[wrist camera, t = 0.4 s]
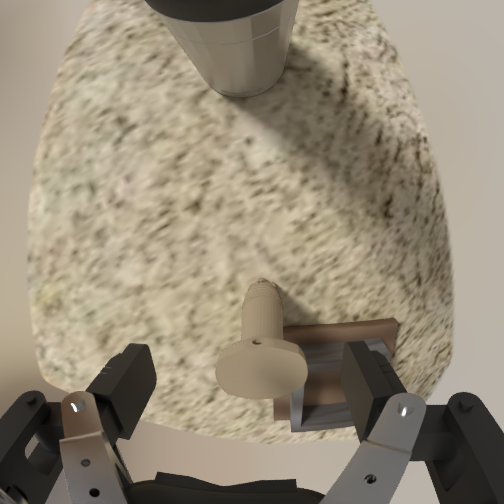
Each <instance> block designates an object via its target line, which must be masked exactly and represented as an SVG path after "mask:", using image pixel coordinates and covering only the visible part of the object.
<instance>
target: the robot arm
mask: <svg viewBox="0 0 504 504" xmlns="http://www.w3.org/2000/svg"><path fill="white" fill-rule="evenodd" d="M145 1H146V2H147V4H148V5H149V6H150V7H151V8H152V9H153V11H154V12H155V13H156V15H157V16H158V17H159V18H160V20H161V21H162V22H163V23H164V25H165V26H166V27H167V29H168V30H169V31H170V33H171V34H172V35H173V37H174V38H175V39H176V41H177V42H178V43H179V45H180V46H181V47H182V49H183V50H184V52H185V53H186V54H187V56H188V57H189V59H190V60H191V61H192V63H193V64H194V66H195V67H196V68H197V70H198V71H199V73H200V74H201V76H202V77H203V78H204V80H205V81H206V82H207V83H208V85H209V86H210V87H211V88H213V89H214V90H216V91H217V92H219V93H221V94H224V95H226V96H231V97H250V96H255V95H258V94H260V93H263V92H265V91H266V90H268V89H270V88H271V87H272V86H273V85H274V84H275V83H276V82H277V81H278V80H279V78H280V77H281V75H282V73H283V70H284V67H285V62H286V57H287V54H288V49H289V44H290V40H291V35H292V30H293V26H294V21H295V16H296V12H297V7H298V2H299V0H145ZM156 380H157V379H156V372H155V368H154V364H153V360H152V356H151V352H150V349H149V346H148V345H147V344H135V343H130V344H129V345H128V346H127V347H126V349H125V350H124V351H123V352H122V353H119V354H118V355H116V356H114V357H113V358H111V359H110V360H109V361H108V363H107V364H106V365H105V368H103V369H102V370H101V371H100V373H99V374H98V375H97V377H96V378H95V379H94V380H93V382H92V383H91V384H90V385H89V387H88V388H87V389H86V391H76V392H73V393H70V394H69V395H67V396H66V397H65V398H64V399H63V400H62V402H47V400H46V398H45V396H44V395H43V393H41V392H39V391H28V392H25V393H24V394H22V395H21V396H20V397H19V398H18V399H17V400H16V401H15V402H14V404H13V405H12V406H11V407H10V408H9V409H8V410H7V412H6V413H5V414H4V415H3V416H2V418H1V419H0V504H45V502H46V500H47V498H48V496H49V494H50V492H51V490H52V488H53V486H54V484H55V482H56V480H57V478H58V477H59V474H60V473H61V471H62V469H64V474H65V479H66V484H67V488H68V492H69V496H70V500H71V504H389V503H390V501H391V499H392V497H393V495H394V493H395V491H396V489H397V487H398V485H399V483H400V480H401V478H402V476H403V474H404V472H405V469H406V467H407V465H408V462H409V461H425V463H426V466H427V469H428V471H429V474H430V477H431V480H432V482H433V485H434V488H435V491H436V494H437V497H438V500H439V503H440V504H504V433H503V431H502V430H501V428H500V427H499V425H498V424H497V423H496V421H495V419H494V418H493V417H492V415H491V414H490V412H489V411H488V409H487V408H486V407H485V405H484V404H483V402H482V401H481V400H480V399H479V398H478V397H477V396H476V395H474V394H471V393H467V392H460V393H456V394H454V395H453V396H451V398H450V399H449V401H448V404H447V405H426V403H425V401H424V400H423V399H422V398H421V397H419V396H418V395H415V394H412V393H407V391H406V389H405V388H404V386H403V384H402V383H401V381H400V379H399V378H398V376H397V374H396V373H395V372H394V370H393V368H392V366H390V363H389V362H388V360H387V358H386V357H385V356H384V355H383V354H381V353H380V352H378V351H377V350H374V351H370V349H369V348H368V346H367V344H366V343H365V341H364V340H357V341H348V342H345V344H344V350H343V359H342V367H341V386H342V389H343V392H344V395H345V398H346V401H347V404H348V407H349V410H350V413H351V416H352V419H353V422H354V425H355V428H356V431H357V435H358V438H359V441H360V446H359V448H358V449H357V451H356V452H355V454H354V456H353V457H352V459H351V460H350V462H349V463H348V465H347V466H346V468H345V469H344V471H343V472H342V473H341V475H340V476H339V478H338V479H337V481H336V482H335V483H334V485H333V486H332V487H331V489H330V490H329V491H328V493H327V494H326V495H324V494H321V493H319V492H316V491H313V490H309V489H304V488H297V485H296V479H287V480H260V481H255V482H249V483H244V484H238V485H232V486H219V485H216V484H212V483H209V482H205V481H202V480H199V479H196V478H193V477H189V476H182V475H176V474H169V473H163V472H157V475H156V478H155V480H147V481H141V482H136V483H133V481H132V479H131V476H130V474H129V472H128V470H127V467H126V465H125V463H124V460H123V458H122V455H121V453H120V450H119V447H118V445H117V443H116V441H117V439H118V438H123V439H127V440H129V439H130V437H131V435H132V433H133V431H134V429H135V427H136V425H137V423H138V421H139V419H140V417H141V415H142V413H143V411H144V409H145V407H146V405H147V403H148V401H149V399H150V397H151V395H152V393H153V391H154V389H155V386H156ZM33 435H35V437H36V438H37V440H38V441H39V443H38V444H37V446H36V447H35V449H34V450H33V452H32V453H31V455H30V456H29V458H28V460H27V458H26V456H25V447H26V446H27V444H28V443H29V441H30V440H31V438H32V437H33Z"/></svg>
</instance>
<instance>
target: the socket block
mask: <svg viewBox="0 0 504 504" xmlns="http://www.w3.org/2000/svg"><path fill="white" fill-rule="evenodd" d="M398 324H399V323H398V322H397V321H396V319H395V318H388V319H380V320H370V321H360V322H349V323H337V324H324V325H308V326H290V327H283V340H285V341H288V342H291V343H294V344H297V345H298V346H299V347H300V348H301V350H302V351H303V353H304V356H305V359H306V363H307V370H308V373H307V379H306V382H305V383H304V385H303V386H302V387H301V388H300V389H298V390H296V391H294V392H292V393H289V394H287V395H284V396H281V397H278V398H274V421H275V420H290V422H291V433H292V432H306V431H317V430H327V429H335V428H343V427H350V426H355V425H354V422H353V419H352V416H351V413H350V410H349V407H348V404H347V401H346V398H345V395H344V392H343V389H342V386H341V367H342V359H343V350H344V344H345V342H348V341H357V340H364V341H365V343H366V344H367V346H368V348H369V349H370V351H374V350H377V351H378V352H380V353H381V354H383V355H384V356H385V357H386V358H387V360H388V362H389V363H390V360H391V356H392V352H393V348H394V343H395V338H396V334H397V329H398Z"/></svg>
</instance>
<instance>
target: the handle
mask: <svg viewBox="0 0 504 504" xmlns="http://www.w3.org/2000/svg"><path fill="white" fill-rule="evenodd" d="M276 289H277V287H276V285H275V284H274V283H273V282H272V283H271V282H268V281H266V280H265V279H264V278H260V279H258V281H257V282H256V283H254V284H253V285H250V286H249V288H248V292H247V294H246V297H245V300H244V303H243V309H242V335H241V341H240V342H238V343H236V344H234V345H232V346H230V347H228V348H226V349H225V350H223V351H222V352H221V354H220V356H219V358H218V361H217V365H216V372H215V373H216V379H217V381H218V384H219V385H220V387H221V388H222V389H223V390H224V391H225V392H226V393H227V394H230V395H234V396H238V397H242V398H246V399H271V398H278V397H281V396H284V395H287V394H289V393H292V392H294V391H296V390H298V389H300V388H301V387H302V386H303V385H304V383H305V382H306V379H307V373H308V370H307V363H306V359H305V356H304V353H303V351H302V350H301V348H300V347H299V346H298V345H297V344H294V343H291V342H288V341H285V340H283V307H282V302H281V299H280V296H279V293H278V292H277V290H276Z"/></svg>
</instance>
